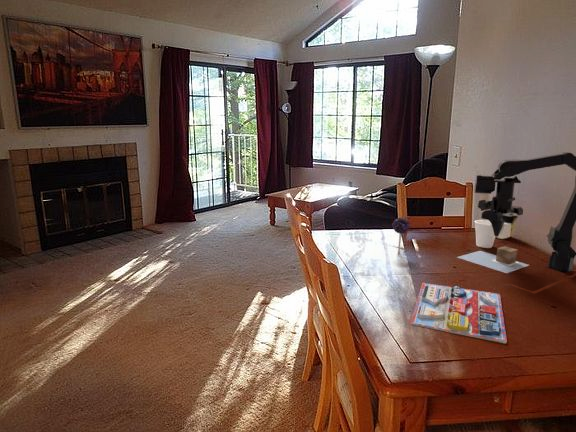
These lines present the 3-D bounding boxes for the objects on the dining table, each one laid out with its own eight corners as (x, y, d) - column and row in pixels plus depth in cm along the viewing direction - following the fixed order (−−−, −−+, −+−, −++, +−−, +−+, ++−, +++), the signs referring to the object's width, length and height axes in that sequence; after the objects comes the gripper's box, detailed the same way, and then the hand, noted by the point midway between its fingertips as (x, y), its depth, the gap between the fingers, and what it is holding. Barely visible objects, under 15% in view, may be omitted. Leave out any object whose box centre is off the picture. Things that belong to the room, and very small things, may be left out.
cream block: (509, 236, 156) (511, 223, 154) (502, 238, 153) (504, 225, 152) (497, 233, 160) (498, 221, 159) (489, 235, 157) (491, 222, 156)
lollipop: (405, 251, 170) (409, 216, 166) (408, 256, 163) (412, 220, 160) (388, 250, 170) (391, 215, 167) (391, 256, 164) (394, 219, 160)
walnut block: (515, 262, 157) (517, 249, 156) (508, 264, 155) (510, 251, 153) (502, 258, 161) (504, 246, 160) (495, 260, 159) (497, 248, 158)
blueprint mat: (529, 266, 155) (529, 264, 155) (506, 274, 146) (506, 273, 146) (479, 252, 171) (479, 250, 171) (456, 258, 162) (456, 257, 162)
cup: (501, 251, 173) (504, 225, 170) (477, 250, 173) (480, 225, 170) (490, 243, 182) (493, 219, 180) (467, 243, 183) (470, 219, 180)
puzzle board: (422, 285, 137) (422, 278, 136) (499, 298, 128) (500, 290, 127) (409, 326, 110) (410, 317, 109) (506, 346, 101) (508, 337, 100)
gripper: (497, 189, 164) (493, 227, 168) (469, 194, 154) (466, 234, 158) (526, 192, 155) (521, 233, 159) (498, 198, 145) (494, 241, 149)
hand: (500, 235), depth 156 cm, fingers closed on cream block, 5 cm apart
